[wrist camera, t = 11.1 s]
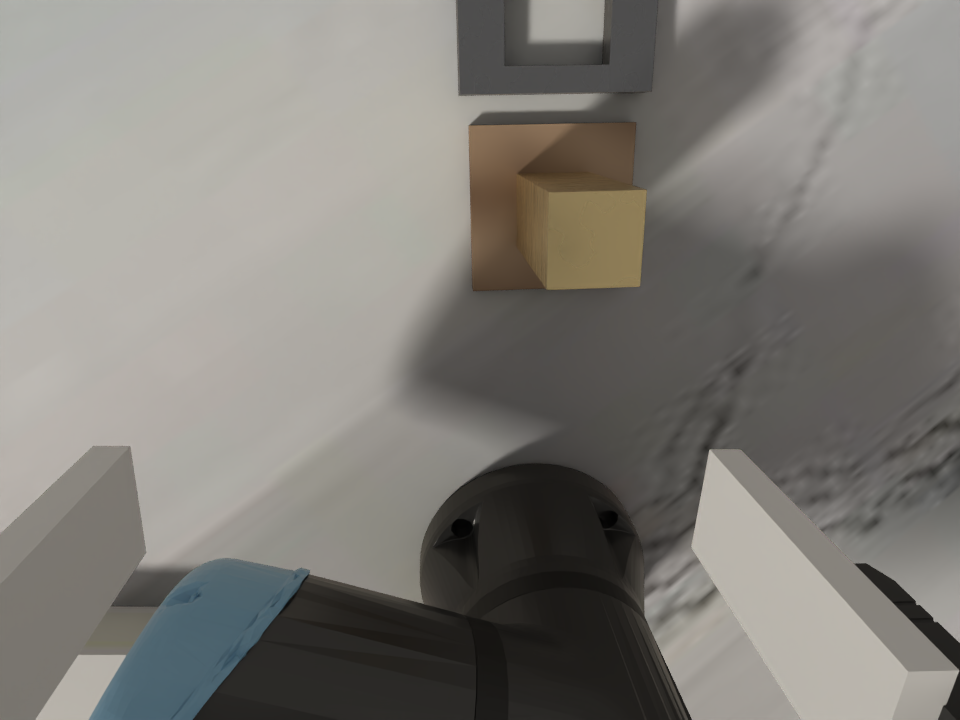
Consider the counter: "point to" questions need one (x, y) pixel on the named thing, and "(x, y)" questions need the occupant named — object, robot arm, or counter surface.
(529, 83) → the grey flat slotted block
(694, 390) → the counter surface
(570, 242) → the square wooden peg
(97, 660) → the disc drive
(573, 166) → the walnut pad
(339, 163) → the counter surface
